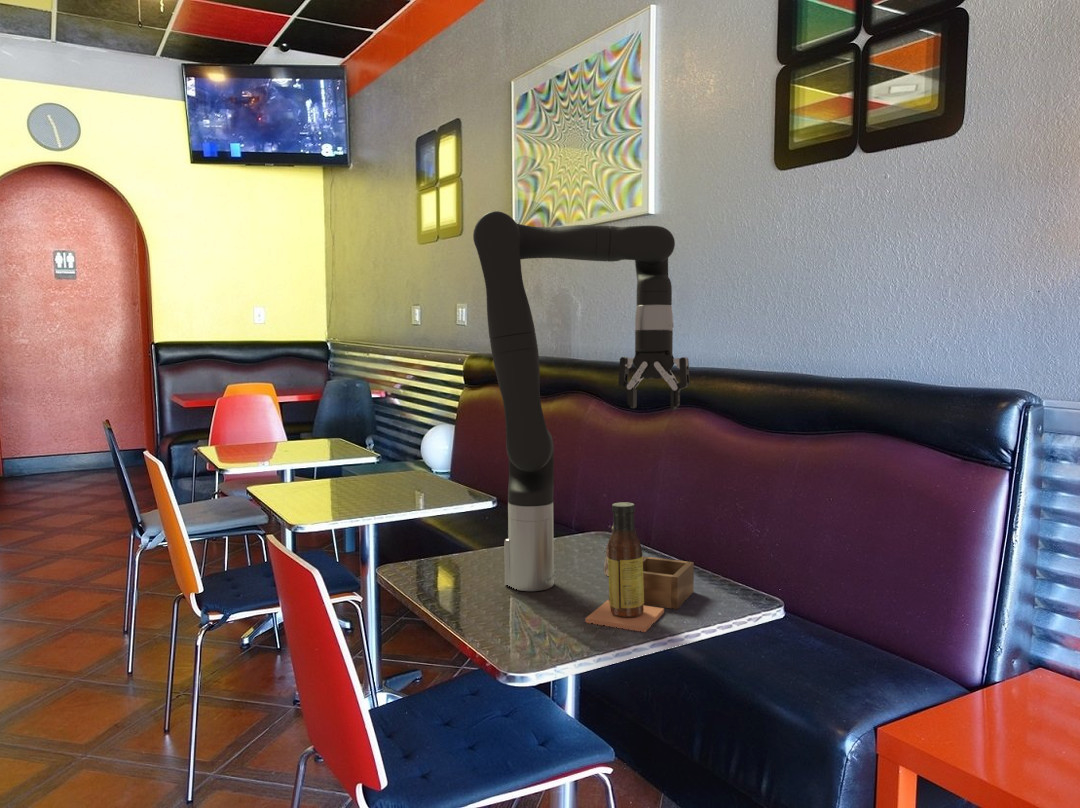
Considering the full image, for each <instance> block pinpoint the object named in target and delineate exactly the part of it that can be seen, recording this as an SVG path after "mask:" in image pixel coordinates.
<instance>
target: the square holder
mask: <svg viewBox="0 0 1080 808" xmlns="http://www.w3.org/2000/svg"><path fill="white" fill-rule="evenodd" d="M694 566H695V565H694V561H685V560H678V559H668V558H660V557H651V556H645V555H644V556H643V584H644V604H643V605H645V606H652V607H659V608H664V609H665V608H668V609H672V608H673V609H674V610H678V609H679V608H680V607H681V606H682V605H683V604H684V603H685V602H686V601H685V600H687V599H689V598H690V597H691V595H693V593H694V583H695V582H694V579H695V578H694V573H695V572H694V571H695V569H694Z"/></svg>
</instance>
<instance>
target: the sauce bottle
mask: <svg viewBox="0 0 1080 808" xmlns="http://www.w3.org/2000/svg"><path fill="white" fill-rule="evenodd" d="M611 506H612V507H611V512H612V515H613V523H614V525H613V524H612V525H613V527H614V529H613V532H612V531H611V533H610V536H609V538H608V542H607V545H608V576H609V577H608V600H609V604H610V608H611V613H612V614H613V615H617V616H620V617H636V616H639V615H641V614H642V613H643V611H644V608H643V605H645V604H644V584H643V549H642V545H641V542H640V539H639V538H638V535H637V531H636V524H635V512H636V506H635V504H634V503H632V502H627V501H626V502H615V503H612V505H611Z"/></svg>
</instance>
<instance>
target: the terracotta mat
mask: <svg viewBox="0 0 1080 808" xmlns="http://www.w3.org/2000/svg"><path fill="white" fill-rule="evenodd" d="M643 608H644V611H643V613H642V614H641V615H639V616H636V617H620V616H617V615H613V614H612V613H611V608H610V604H609V599H607V600H606V601H605V602H604V603H602V604H601V605H600V606H599V607H597V608H596V609H595V610H594V611H592V612H591V613H590V614H589V615H588V616H586V617H585V619H584V620H585V622H586V623H585V624H591V623H593V624H592V625H597V624H598V625H599V626H603V625H605V626H604V627H609V626H610V627H609V628H616V627H617V628H616V629H622V628H623V629H624V630H628V629H629V630H628V631H634V630H635V632H640V631H641V633H646V632H647V631H648V630H649V629H650V628H651V627H652V626H653V625H654V624H655V623H656V621H657V620H658V619H660V617H661V616H663V614H664V613H665V607H658V606H651V605H645V604H643ZM653 623H654V624H653ZM652 624H653V625H652ZM651 625H652V626H651ZM623 629H622V630H623Z"/></svg>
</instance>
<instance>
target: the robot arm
mask: <svg viewBox="0 0 1080 808" xmlns="http://www.w3.org/2000/svg"><path fill="white" fill-rule="evenodd" d="M472 236H473V238H472V239H473V243H474V246H475V249H476V251H477V255H478V259H479V262H480V265H481V269H482V274H483V278H484V283H485V292H486V295H485V296H486V315H487V317H486V318H487V327H488V328H487V329H488V338H489V344H490V349H491V356H492V360H493V366H494V371H495V375H496V379H497V384H498V386H499V392H500V394H501V398H502V402H503V408H504V409H503V411H504V420H505V435H506V436H505V438H506V439H505V440H506V441H505V442H506V446H505V447H506V453H507V457H508V485H507V486H508V488H507V513H508V514H507V518H508V521H507V522H508V523H507V528H508V529H507V535H508V537H507V538H505V539H504V547H503V549H504V552H503V553H504V586H505V585H508V586H507V587H509V586H510V588H511V587H512V588H511V589H513V588H514V589H513V590H516V589H517V591H522V592H523V591H524V592H537V591H538V592H539V591H544V590H545V591H546V590H549V589H551V588H552V587H554V585H555V584H554V582H555V579H554V577H555V575H554V573H555V572H554V565H555V564H554V563H555V562H554V561H555V559H554V557H555V555H554V554H555V553H554V490H555V489H554V481H555V480H554V477H555V475H554V471H555V470H554V468H555V467H554V462H555V461H554V459H555V458H554V456H555V455H554V454H555V452H554V450H555V449H554V447H555V446H554V439H553V435H552V434H551V432H550V431H549V429H548V428H547V425H546V420H545V417H544V412H543V408H542V402H541V393H540V391H541V390H540V383H541V382H540V381H541V380H540V378H541V377H540V355H539V348H538V347H539V346H538V340H537V335H536V327H535V323H534V320H533V315H532V311H531V306H530V304H529V303H530V302H529V299H528V297H527V293H526V290H525V285H524V280H523V273H522V263H521V261H522V260H526V259H527V260H529V259H560V260H561V259H562V260H564V259H565V260H576V261H588V262H589V261H591V262H592V261H593V262H611V263H612V262H620V261H624V260H625V261H634V265H635V274H636V281H637V282H636V309H635V310H636V311H635V315H634V316H635V317H634V357H633V358H632V357H627V356H624V357H623V356H622V357H620V358H619V364H618V365H619V367H618V369H619V370H618V383H617V384H618V386H619V387H622V388H625V389H626V390H627V393H626V394H627V400H626V401H627V405H628V406H629V408H630V409H636V408H637V406H638V405H637V403H638V402H637V400H638V395H637V394H638V393H637V392H638V390H637V389H636V388H637V387H638V386H639V384H640V383H641V381H643V380H646V379H648V380H649V379H654V380H655V379H656V380H657V379H658V380H659V379H664V381H665V382H666V383H667V384H668V386H669V387H670V388H671V391H670V410H672V411H674V410H677V408H678V407H680V405H681V391H682V389H684V388H685V389H686V388H688V387H689V386H690V382H691V381H690V365H689V364H690V363H689V362H690V361H689V358H688V357H686V356H685V357H680V358H675V357H674V354H673V350H674V349H673V347H674V346H673V345H674V341H673V340H674V337H673V335H674V329H673V328H674V319H673V318H674V316H673V315H674V314H673V307H672V306H673V305H672V304H673V303H672V301H673V300H672V299H673V298H672V297H673V296H672V295H673V292H672V291H673V290H672V282H671V278H670V277H669V257H671V255H672V254H673V252H674V250H675V246H676V243H675V242H676V241H675V237H674V235H673V233H672V232H671V231H670V230H669V229H668V228H666V227H664V226H660V225H631V226H615V225H603V224H599V225H598V224H575V225H574V224H573V225H566V226H565V225H564V226H563V225H562V226H547V227H546V226H532V225H527V224H526V225H525V224H520V223H517V222H516V221H515V220H514V219H513V218H512V217H511V215H509V214H507V213H505V212H502V211H498V210H497V211H496V210H494V211H489V212H487V213H485V214H484V215H482V216H481V217H480V218H479V219H478V220H477V223H476V224H475V226H474V228H473V235H472ZM632 364H633V366H634V367H635V369H636V371H635V373H633V376H631V379H630V380H629V372H630V368H632ZM675 365H676V368H677V369H678V370H679V379H680V380H679V381H680V382H679V381H678V380H677V378H676V376H675V375H674V374H673V372H672V370H671V369H672V368H673V366H675Z"/></svg>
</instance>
